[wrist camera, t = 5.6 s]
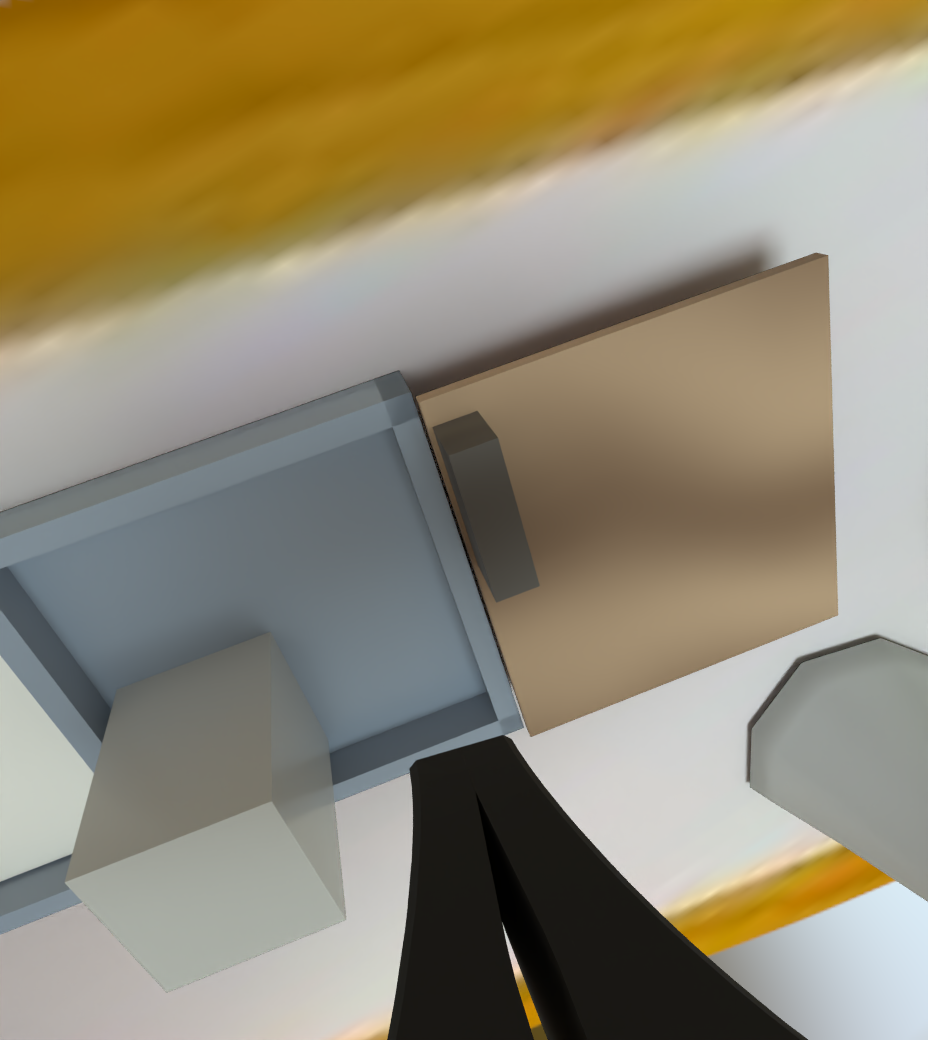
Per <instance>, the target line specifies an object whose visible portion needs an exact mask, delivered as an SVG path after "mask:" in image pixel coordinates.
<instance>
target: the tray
mask: <svg viewBox="0 0 928 1040" xmlns="http://www.w3.org/2000/svg"><path fill="white" fill-rule="evenodd" d="M268 632H271V634H272V635H273V637H274V639H275V641H276V643H277V645H278V647H279V649H280V650H281V652H282V654H283V656H284V658H285V660H286V662H287V664H288V665H289V667H290V669H291V671H292V673H293V675H294V677H295V678H296V680H297V682H298V684H299V686H300V688H301V690H302V692H303V693H304V695H305V697H306V699H307V701H308V703H309V705H310V706H311V708H312V710H313V712H314V714H315V716H316V718H317V720H318V721H319V723H320V725H321V727H322V729H323V731H324V733H325V735H326V736H327V738H328V743H329V753H330V763H331V773H332V782H333V792H334V802H337V801H339V800H342V799H345V798H347V797H350V796H352V795H355V794H357V793H360V792H362V791H365V790H367V789H370V788H372V787H375V786H377V785H380V784H382V783H385V782H388V781H390V780H393V779H395V778H398V777H400V776H403V775H405V774H408V773H410V770H409V768H410V767H411V766H412V765H413V763H414V762H415V761H416V760H418V759H422V758H425V757H429V756H432V755H435V754H439V753H442V752H446V751H449V750H453V749H456V748H459V747H463V746H466V745H470V744H473V743H477V742H480V741H484V740H487V739H490V738H494V737H497V736H501V735H506V734H509V733H512V732H514V731H517V730H519V729H522V728H524V726H523V723H522V720H521V717H520V714H519V711H518V708H517V705H516V702H515V699H514V697H513V694H512V691H511V688H510V685H509V682H508V679H507V676H506V673H505V670H504V667H503V664H502V661H501V658H500V655H499V652H498V649H497V646H496V643H495V640H494V637H493V634H492V631H491V628H490V625H489V622H488V619H487V617H486V614H485V611H484V608H483V605H482V602H481V599H480V596H479V593H478V590H477V587H476V584H475V581H474V578H473V575H472V572H471V569H470V566H469V563H468V560H467V557H466V554H465V551H464V548H463V545H462V542H461V539H460V536H459V534H458V531H457V528H456V525H455V522H454V519H453V516H452V513H451V510H450V507H449V504H448V501H447V498H446V495H445V492H444V489H443V486H442V483H441V480H440V477H439V474H438V471H437V468H436V465H435V462H434V459H433V456H432V454H431V451H430V448H429V445H428V442H427V439H426V436H425V433H424V430H423V427H422V424H421V421H420V418H419V415H418V412H417V409H416V406H415V403H414V400H413V397H412V394H411V391H410V390H409V388H408V386H407V384H406V383H405V381H404V379H403V377H402V375H401V374H400V372H399V371H396V372H394V373H391V374H388V375H385V376H382V377H380V378H377V379H374V380H371V381H368V382H365V383H363V384H360V385H357V386H354V387H351V388H349V389H346V390H343V391H340V392H337V393H335V394H332V395H329V396H326V397H323V398H321V399H318V400H315V401H312V402H309V403H306V404H304V405H301V406H298V407H295V408H292V409H290V410H287V411H284V412H281V413H278V414H276V415H273V416H270V417H267V418H264V419H262V420H259V421H256V422H253V423H250V424H248V425H245V426H242V427H239V428H236V429H233V430H231V431H228V432H225V433H222V434H219V435H217V436H214V437H211V438H208V439H205V440H203V441H200V442H197V443H194V444H191V445H189V446H186V447H183V448H180V449H177V450H175V451H172V452H169V453H166V454H163V455H160V456H158V457H155V458H152V459H149V460H146V461H144V462H141V463H138V464H135V465H132V466H130V467H127V468H124V469H121V470H118V471H116V472H113V473H110V474H107V475H104V476H102V477H99V478H96V479H93V480H90V481H87V482H85V483H82V484H79V485H76V486H73V487H71V488H68V489H65V490H62V491H59V492H57V493H54V494H51V495H48V496H45V497H43V498H40V499H37V500H34V501H31V502H28V503H26V504H23V505H20V506H17V507H14V508H12V509H9V510H6V511H3V512H0V934H3V933H5V932H8V931H10V930H13V929H16V928H18V927H21V926H23V925H26V924H28V923H31V922H33V921H36V920H38V919H41V918H43V917H46V916H48V915H51V914H53V913H56V912H59V911H61V910H64V909H66V908H69V907H71V906H74V905H76V904H79V903H81V902H82V901H81V900H80V899H79V898H78V897H77V896H76V894H75V893H74V892H73V891H72V890H71V889H70V888H69V887H68V886H67V885H66V884H65V883H64V882H65V879H66V875H67V871H68V868H69V864H70V860H71V857H72V853H73V849H74V845H75V842H76V838H77V834H78V831H79V827H80V823H81V820H82V816H83V812H84V809H85V805H86V801H87V797H88V794H89V790H90V786H91V783H92V779H93V775H94V772H95V768H96V764H97V761H98V757H99V753H100V749H101V746H102V742H103V738H104V735H105V731H106V727H107V724H108V720H109V716H110V713H111V709H112V705H113V701H114V698H115V694H116V690H117V689H120V688H122V687H125V686H128V685H130V684H133V683H136V682H138V681H141V680H144V679H146V678H149V677H152V676H154V675H157V674H160V673H162V672H165V671H168V670H170V669H173V668H176V667H178V666H181V665H184V664H186V663H189V662H191V661H194V660H197V659H199V658H202V657H205V656H207V655H210V654H213V653H215V652H218V651H221V650H223V649H226V648H229V647H231V646H234V645H237V644H239V643H242V642H245V641H247V640H250V639H253V638H255V637H258V636H261V635H263V634H266V633H268Z"/></svg>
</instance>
